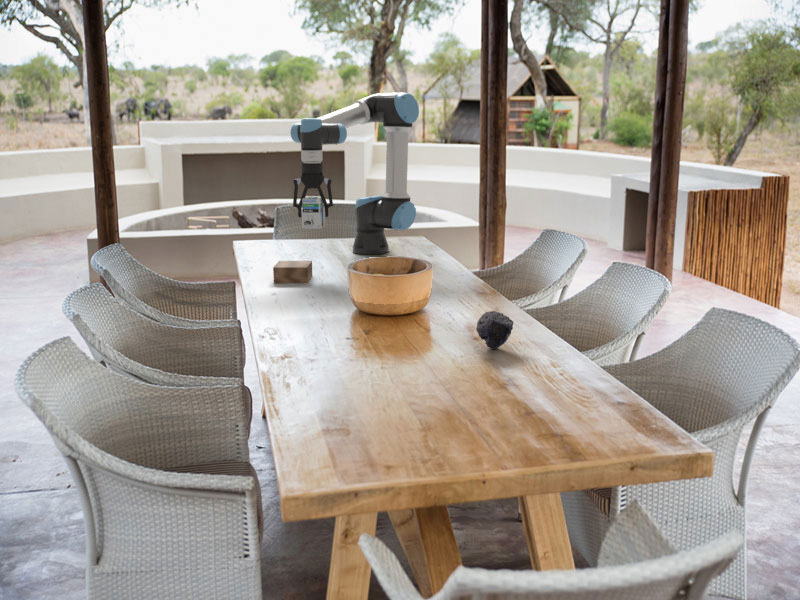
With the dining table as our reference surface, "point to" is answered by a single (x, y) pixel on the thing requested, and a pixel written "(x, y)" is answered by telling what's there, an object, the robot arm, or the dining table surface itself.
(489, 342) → the pumice stone
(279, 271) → the walnut block
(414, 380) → the dining table surface
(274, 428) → the dining table surface
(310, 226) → the light bulb box
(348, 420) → the dining table surface
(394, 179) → the robot arm
